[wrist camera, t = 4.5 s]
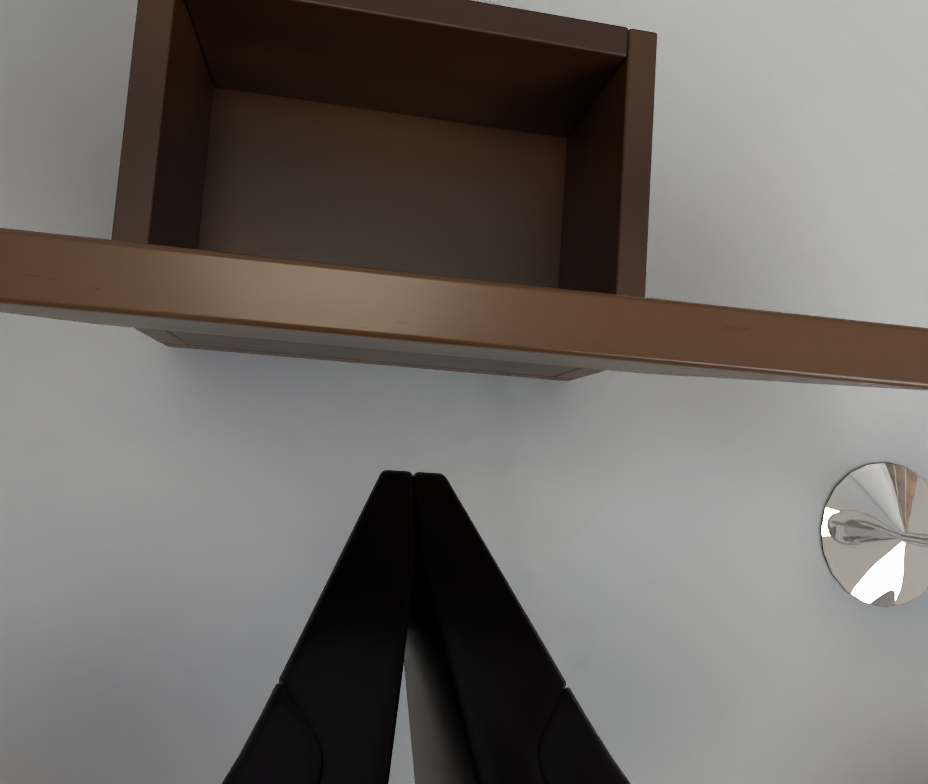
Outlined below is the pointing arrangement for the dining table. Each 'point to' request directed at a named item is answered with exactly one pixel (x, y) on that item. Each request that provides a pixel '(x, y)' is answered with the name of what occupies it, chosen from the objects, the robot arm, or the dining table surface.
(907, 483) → the wineglass
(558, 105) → the chest
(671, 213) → the dining table surface
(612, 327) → the lid
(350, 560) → the robot arm
